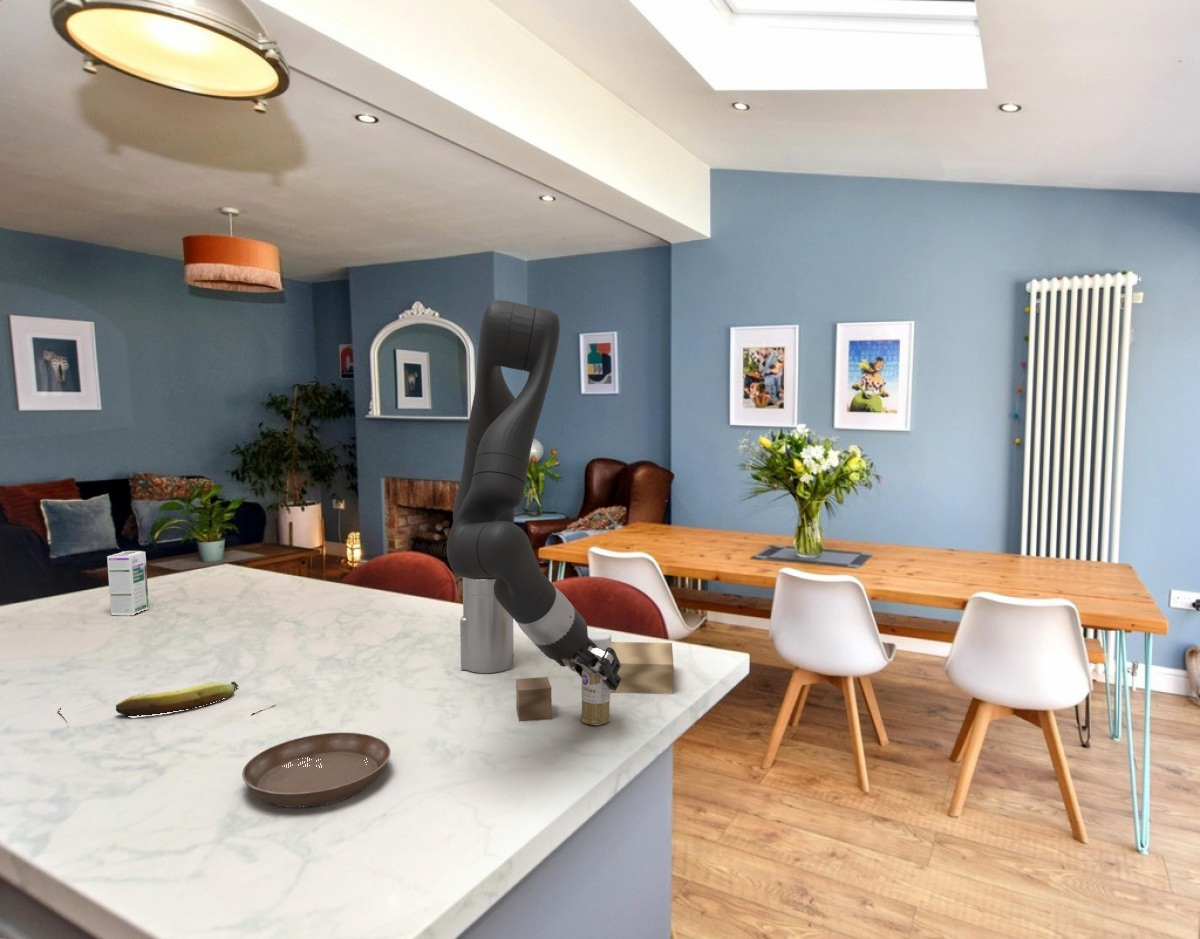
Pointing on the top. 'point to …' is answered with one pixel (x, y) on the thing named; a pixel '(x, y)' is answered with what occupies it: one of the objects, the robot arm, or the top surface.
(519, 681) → the walnut cube
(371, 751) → the plant saucer
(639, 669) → the oak block
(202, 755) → the top surface
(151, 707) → the banana
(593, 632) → the sprinkles bottle
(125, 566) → the syrup box
